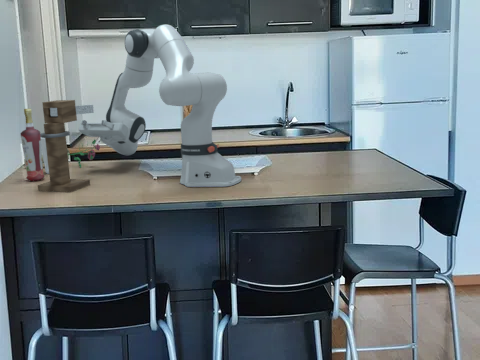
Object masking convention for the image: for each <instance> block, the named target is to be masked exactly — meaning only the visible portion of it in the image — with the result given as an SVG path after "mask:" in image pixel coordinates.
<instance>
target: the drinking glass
mask: <svg viewBox="0 0 480 360" xmlns="http://www.w3.org/2000/svg"><path fill="white" fill-rule="evenodd" d="M41 152H42V155H43V160H44V163H43V164H44V171H45V173H46V174H47V175H49V167H48V159H47V150H46V141H45V138H42V137H41Z"/></svg>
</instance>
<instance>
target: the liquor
mask: <svg viewBox="0 0 480 360" xmlns="http://www.w3.org/2000/svg"><path fill="white" fill-rule="evenodd" d="M32 111H33V110H32V108H23V112H24V113H23V114H24V117H25V129H24V130H22V131H21V132H20V138H21V146H22V150H23V156H24V159H25V163H26V165H25V169H26V179H27V180H28V181H29V182H39V181H42V180H43V179H44V178H45V174H44V168H43V163H42V151H41V136H40V134H41V131H40V130H38V129H37V128H35V127H34V122H33V121H34V120H33V118H32V115H33V113H32ZM25 163H24V164H25Z"/></svg>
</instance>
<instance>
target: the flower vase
mask: <svg viewBox="0 0 480 360" xmlns="http://www.w3.org/2000/svg"><path fill="white" fill-rule="evenodd" d="M93 138H94V139H93V140H92V142H91V146H90V148H88V146H89V145H88V144H89V142H88V140H87V141H86V142H87V143H86V146H85V149H83V150H81V148H83V147H84V146H83V144H81V147H79V148H78V150H80V151H78V152H77V151H76V152H75V153H74V152H73V153H70V150H69V149H68V148H67V154H68V160H70V156H74V157H73V160H74V161H77V163H78V166H79V168H80V169H81V168H82V164H81V162H82V161H81V158H80V157H78V156H77V157H76V156H75V155H80V156H85V155H87V159H89V161H92V160H93V159H94V158H95V157H96V153H95V150H96V151H100V149H101V145H100V144H99V143H96V142H97V141H96V140H97V139H95V138H96V137H93ZM92 145H94V147H92ZM94 149H95V150H94ZM86 151H88V152H87V153H85V152H86ZM83 152H84V153H83ZM23 162H24V165H25V166H26V163H25V158H24V161H23ZM42 164H44V160H43V155H42Z"/></svg>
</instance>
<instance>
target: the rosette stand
mask: <svg viewBox="0 0 480 360" xmlns="http://www.w3.org/2000/svg"><path fill="white" fill-rule="evenodd" d="M76 106H77V105H76V99H70V100H69V99H67V100H66V99H64V100H63V99H61V100H60V99H58V100H56V99H55V100H51V101H43V102H42V110H43V120H44V123H43V130H44V132H42V133H41V132H40V136H41V137H42V138H45V141H46V150H47V159H48V167H49V174H48V176H49V181H46V182H44V183H40V184H38V185H37V191H38V190H41V191H40V192H52V191H57V192H56V193H72V192H75V191H78V190H80V189H84V188H87V187H88V186H91V179H83V178H82V179H81V178H71V174H70V173H71V172H70V165H69V159H68V154H67V149H68V146H67V145H68V144H67V137H68V136H70V134H71V133H70V131H69V130H66V127H65V125H66V124H67V123H70V122H71V123H72V122H75V121H78V119H77V118H78V117H77V114H76ZM50 108H57V113H58V116H51V114H50Z"/></svg>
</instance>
